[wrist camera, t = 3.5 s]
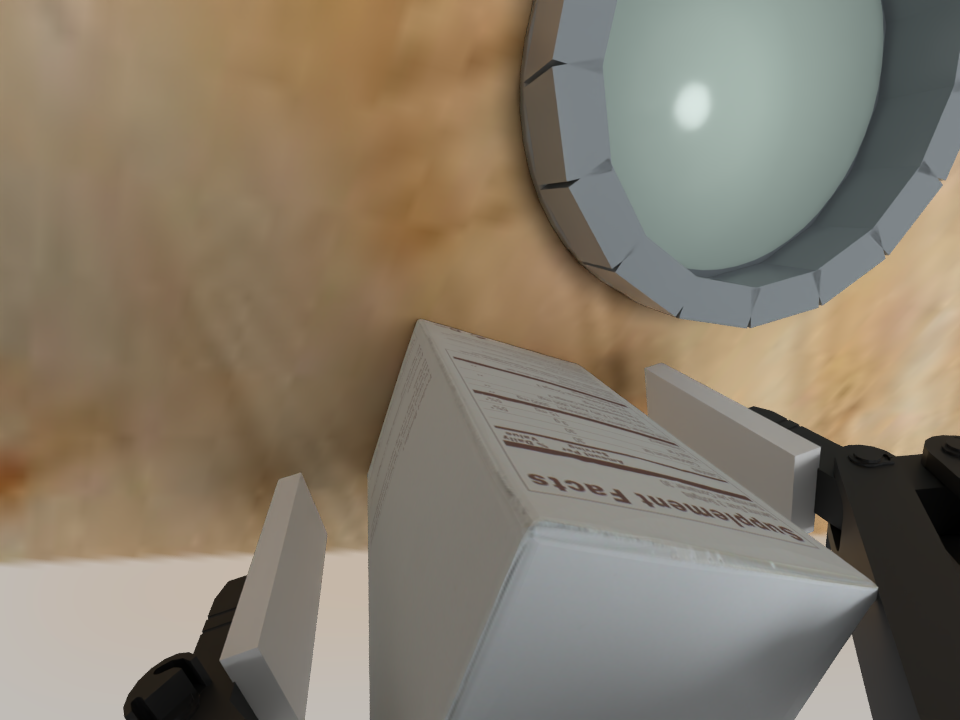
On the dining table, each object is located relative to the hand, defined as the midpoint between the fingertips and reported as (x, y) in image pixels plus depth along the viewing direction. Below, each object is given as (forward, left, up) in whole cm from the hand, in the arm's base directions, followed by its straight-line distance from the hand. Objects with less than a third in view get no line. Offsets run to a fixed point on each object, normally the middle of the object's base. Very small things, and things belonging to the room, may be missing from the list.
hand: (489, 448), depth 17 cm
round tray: (-10, +12, -3) cm, 16 cm away
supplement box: (0, 0, -3) cm, 3 cm away
